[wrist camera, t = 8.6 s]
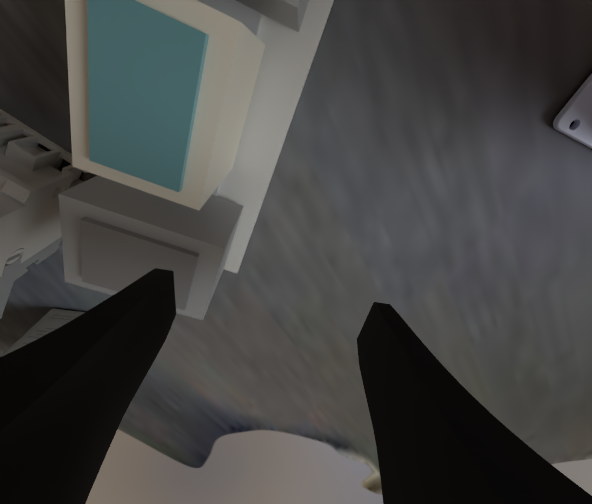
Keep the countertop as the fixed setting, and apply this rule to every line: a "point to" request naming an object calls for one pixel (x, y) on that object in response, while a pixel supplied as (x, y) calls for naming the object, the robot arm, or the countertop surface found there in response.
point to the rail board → (225, 199)
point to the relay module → (158, 93)
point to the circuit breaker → (29, 199)
